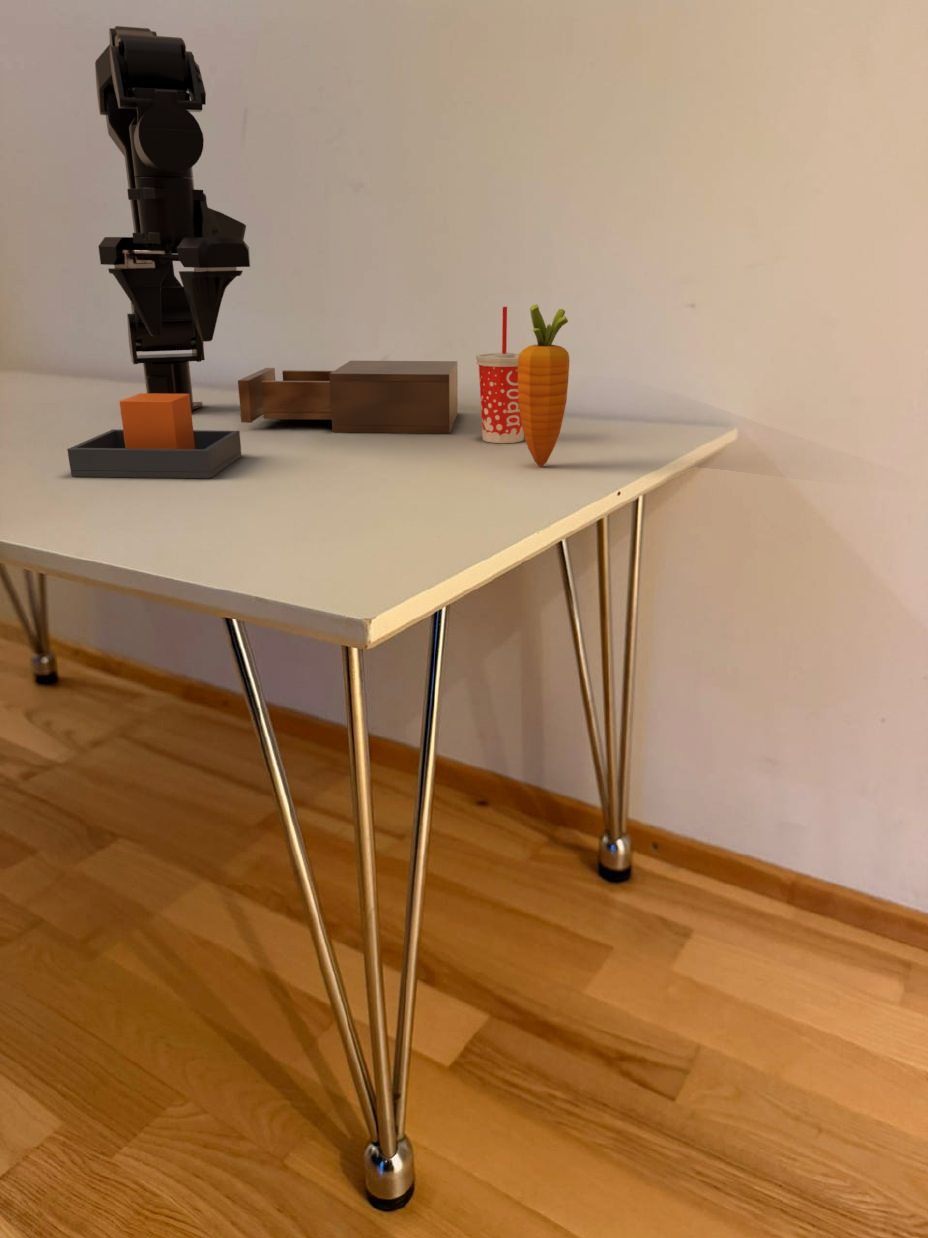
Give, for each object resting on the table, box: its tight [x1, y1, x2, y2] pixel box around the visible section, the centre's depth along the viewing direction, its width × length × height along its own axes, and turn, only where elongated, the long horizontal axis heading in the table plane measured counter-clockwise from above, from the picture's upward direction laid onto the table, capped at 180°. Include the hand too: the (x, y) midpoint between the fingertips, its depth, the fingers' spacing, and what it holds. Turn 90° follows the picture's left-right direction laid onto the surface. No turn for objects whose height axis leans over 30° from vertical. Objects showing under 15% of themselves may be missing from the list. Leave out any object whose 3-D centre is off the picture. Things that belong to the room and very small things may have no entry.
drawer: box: [237, 367, 334, 424], centre depth 115 cm, size 14×12×5 cm
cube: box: [119, 392, 195, 449], centre depth 91 cm, size 5×5×6 cm
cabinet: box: [329, 360, 459, 434], centre depth 114 cm, size 14×14×7 cm
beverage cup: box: [475, 306, 525, 444], centre depth 103 cm, size 6×6×14 cm
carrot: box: [518, 304, 570, 468], centre depth 89 cm, size 5×5×15 cm
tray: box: [66, 428, 243, 479], centre depth 92 cm, size 10×13×3 cm
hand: (180, 338), depth 102 cm, fingers open, 9 cm apart
